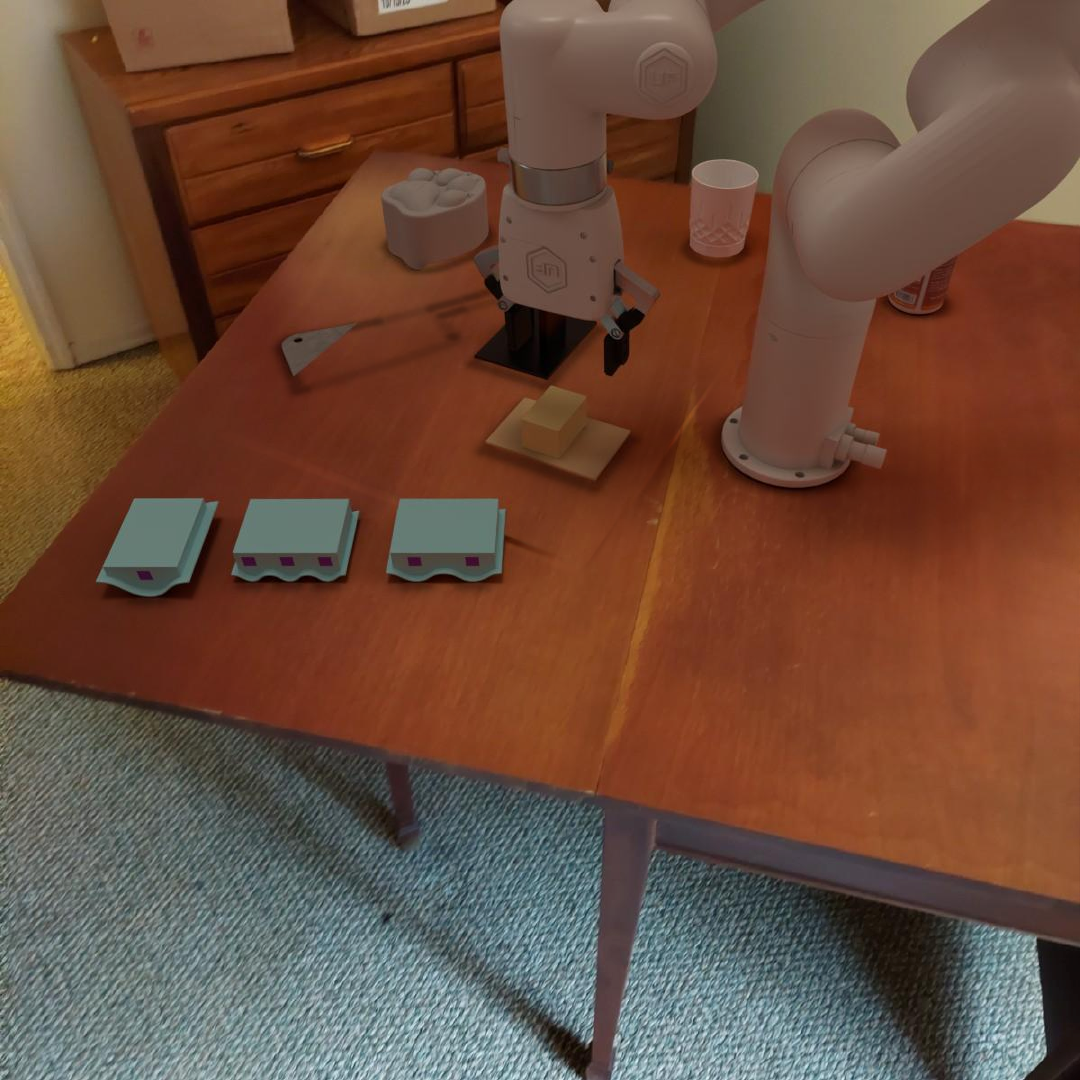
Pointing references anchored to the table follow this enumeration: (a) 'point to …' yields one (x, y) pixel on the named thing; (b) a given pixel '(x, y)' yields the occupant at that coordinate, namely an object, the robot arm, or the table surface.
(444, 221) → the lumpy-topped squat cylinder
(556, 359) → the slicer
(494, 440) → the board
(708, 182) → the white cup
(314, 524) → the corrugated panels
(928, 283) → the pill bottle
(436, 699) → the table surface
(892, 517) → the table surface
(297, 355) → the cleaver
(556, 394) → the butter
